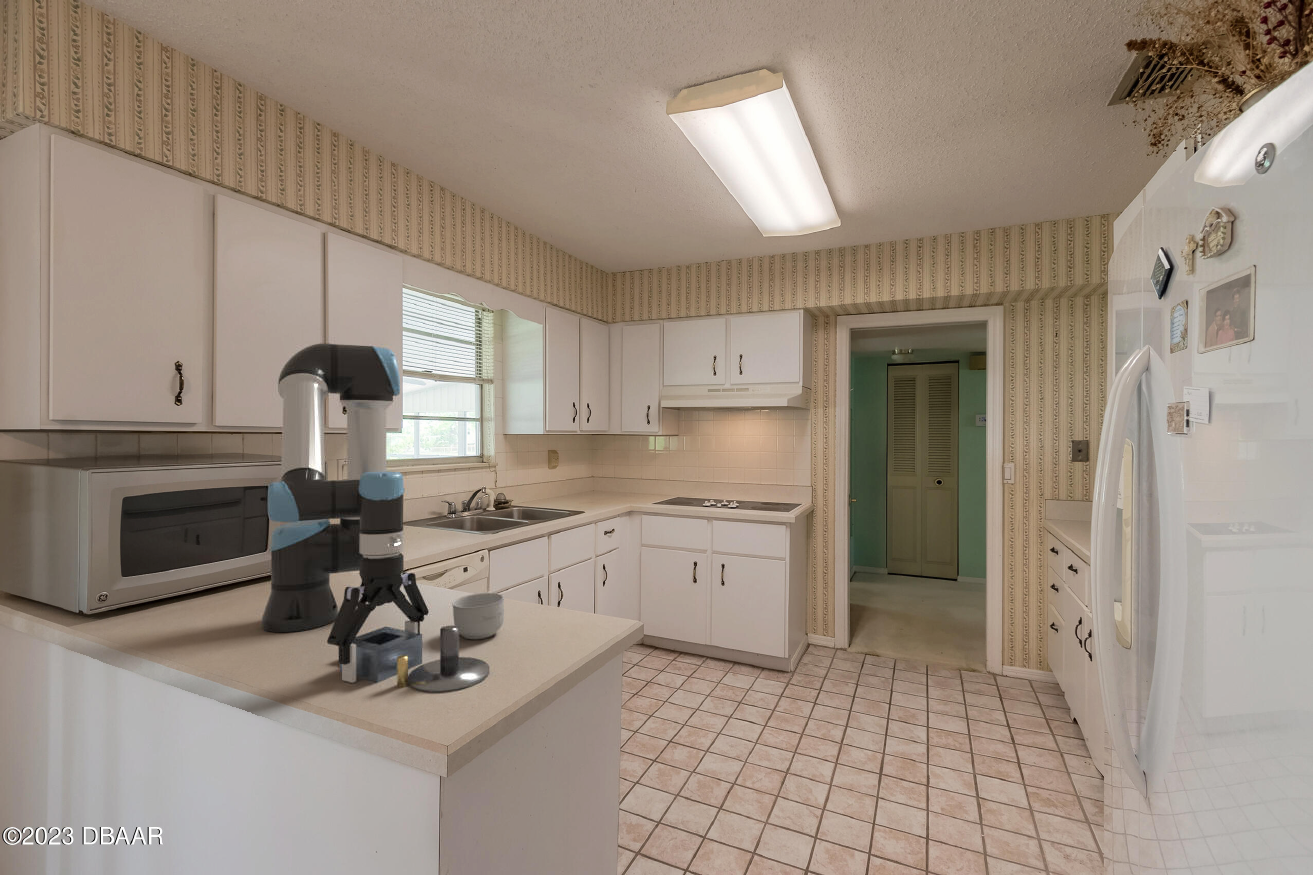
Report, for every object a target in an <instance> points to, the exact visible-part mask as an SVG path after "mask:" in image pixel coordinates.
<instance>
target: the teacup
mask: <svg viewBox="0 0 1313 875" xmlns="http://www.w3.org/2000/svg"><path fill="white" fill-rule="evenodd" d="M504 599H505V597H504V595H503V594H501V593H498V592H492V591H490V590H489V591H487V590H486V591H484V592H482V593H481V592H480V593H472V594H467V595H464V596H461V597H459V598H457V599H454V600H453V601H452V603H451V605H452V610H453V612H452V614H453V615H452V616H453V624H454V626H458V627H459V635H461V636H463V638H465V639H466V640H467V639H468V640H481V639H482V640H483V639H486V638H489V637H492V636H494V635H495V634H497V632H498V631H499V630H500V629H501V627H502V626H503V624H504V620H505V609H504V608H505V606H504Z"/></svg>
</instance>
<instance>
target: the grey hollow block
mask: <svg viewBox="0 0 1313 875" xmlns="http://www.w3.org/2000/svg"><path fill="white" fill-rule="evenodd" d="M352 644H356V678H358V679H363V680H366V681H369V682H374V683H380V682H382V681H384V680H386V679H389V678H391V677H393V676H395V675H396V676H397V657H398V656H400V655H408V670H410V669H411V668H414V667H416V666H418V665H420V664H423V633H420V634H419V633H414V632H409V631H405V629H400V628H395V627H390V626H383V627H381V628H377V629H374V630H371V631H369V632H366V633H363V634H360V635H357V636H356V637H355V639H354V641H353V642H352ZM340 673H341V674H342V664H340V663H339V674H340Z"/></svg>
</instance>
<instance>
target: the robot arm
mask: <svg viewBox="0 0 1313 875" xmlns="http://www.w3.org/2000/svg"><path fill="white" fill-rule="evenodd" d="M398 366H399V365H398V361H397V358H396V355H395V353H394V352H393V350H391V349H390V348H387V347H381V346H374V345H356V344H354V345H353V344H338V343H337V344H336V343H329V342H328V343H327V342H326V343H325V342H323V343H315V344H312V345H309V346H307V347H304V348H303V349H301V350H299V351H297V352H296V353H295V354H293V356H291V357H290V358H289V360H288V361H287V362H286V363H285V364H284V366H283V367H282V369H281V372H280V373H279V377H278V382H277V383H278V384H277V391H278V394H279V396H280V397H281V399H283V400H282V403H283V404H282V428H281V429H282V433H281V436H282V437H281V466H280V467H281V468H280V470H281V471H280V481H276V482H271V483H269V484H268V488H267V515H268V519H269V520H270V521H272V522H274V523H275V522H277V523H278V522H279V523H281V522H282V523H286V522H287V523H286V524H282V525H279V526H277V527H276V528H275V529H273V531H272V533H271V540H270V541H271V542H270V543H271V544H270V547H269V550H270V552H271V555H270V556H271V560H270V561H271V563H270V566H271V567H270V568H271V569H270V571H271V572H270V578H271V579H270V580H271V581H270V583H271V584H270V594H269V597H268V599H267V603H266V605H265V608H264V612H263V614H262V617H261V628H262V630H264V631H267V632H273V633H292V632H300V631H305V630H306V631H307V630H310V629H311V630H312V629H315V628H320V627H322V626H326V625H329V624H331V623H333V622H334V623H333V625H332V627H331V630H330V633H329V635H328V637H327V640H326V642H327V644H328V645H333V646H336V647H338V663H339V665H340V664H342V673H341V680H342V681H345V682H347V683H355V682H357V677H356V644H352V642H353V641H354V639H355V637H357V636H358V634H359V632H360V631H361V629H362V627H363V626H364V624H365V622H366V620H367V618H368V617H369V616H370V614H371V613H372V612H373V611H374V610H375V609H376V608H377V607H381V606H383V605H385V604H391V603H393V604H395V606H396V607H397V608H398V609H399V610H400V611H401V612H402V613H403V614H404V615H405V618H407V619H408V620H406V621H404V630H405V631H409V632H414V633H419V634H421V623H423V622H424V620H425V616H429V608H428V606H427V604H426V602H425V600H424V597H423V596H422V593H421V591H420V589H419V586H418V584H417V578H416V574H415V573H414V572H409V571H408V572H407V571H405V570H404V560H405V559H404V554H403V553H402V551H404V493H405V487H404V477H403V474H402V473H401V472H400V471H389V470H388V471H387V409H388V408H389V407H391V405H393V403H394V397H397V396H399V395H400V391H401V382H400V381H401V378H400V371H399V367H398ZM328 394H337V395H339V403H341V404H342V405H343V406H344V407H345V409H346V479H341V480H340V479H339V480H337V479H336V480H334V479H333V480H326V458H325V452H326V451H325V418H324V416H325V414H324V413H325V412H324V401H325V399H326V398H327V396H328ZM332 519H333V520H335V519H337V520H338V519H339V523H331V521H330V520H332ZM349 572H350V573H351V572H359V573H358V574H359V577H360V579H361V584H360V586H356V587H353V586H346V587H345V588H344V593H343V601H342V603H341V606H340V608H339V607H338V604H337V601H336V599H335V596H334V593H333V591H332V588H331V585H330V579H331V578H330V575H331V574H339V573H340V574H342V573H349ZM402 586H403V589H404V591H405V593H406V595H407V597H408V599H407V598H406V595H405V594H404V593H403V591H402V590H401V587H402ZM408 600H409V601H408Z"/></svg>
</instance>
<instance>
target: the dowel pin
mask: <svg viewBox="0 0 1313 875" xmlns="http://www.w3.org/2000/svg"><path fill="white" fill-rule="evenodd" d="M408 676H409V669H408V655H400V656H398V657H397V674H396V688H397V687H398V688H406V687H408V686H409V683H408Z"/></svg>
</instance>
